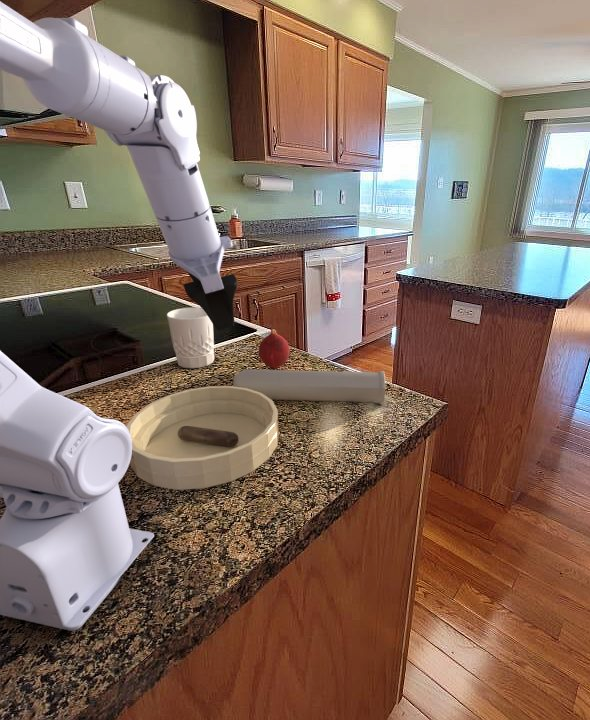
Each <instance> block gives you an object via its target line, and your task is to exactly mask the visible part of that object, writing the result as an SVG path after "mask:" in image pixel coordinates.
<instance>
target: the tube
mask: <svg viewBox="0 0 590 720" xmlns="http://www.w3.org/2000/svg"><path fill="white" fill-rule="evenodd" d="M232 383H233V384H232V386H233V387H241V388H248V389H251V390H254V391H257V392H260V393H262V394H264V395H265V396H267V397H268V398H269V399H271V400H279V401H282V400H283V401H311V402H313V401H316V402H317V401H318V402H319V401H320V402H352V403H353V402H354V403H373V404H378V405H380V406H384V405H385V398H386V374H385V370H381V371H379V372H378V371H377V372H375V371H374V372H371V371H370V372H369V371H333V370H332V371H330V370H297V369H295V370H291V369H289V370H288V369H286V370H285V369H257V368H256V369H253V368H252V369H251V368H249V369H248V368H247V369H246V368H245V369H242V370H241V371H239V372H238V373H236V374H235V375H234V376H233V380H232Z"/></svg>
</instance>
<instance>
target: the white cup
mask: <svg viewBox="0 0 590 720" xmlns="http://www.w3.org/2000/svg"><path fill="white" fill-rule="evenodd" d="M166 318H167V323H168V328H169V334H170V338H171V343H172V347H173V352H174V353H175V359H176V362H177V365H178V366H179V367H181V368H185V369H198V368H204V367H207V366H209V365H211V364H213V362H214V361H215V350H214V348H215V340H214V338H215V337H214V325H213V323H212V322H211V320H210V319H209V317H208V316H207V314H206V313H205V311H204V310H203V309H202V308H201V307H197V306H196V307H182V308H177V309H173V310H170V311H168V312H167V313H166Z"/></svg>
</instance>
